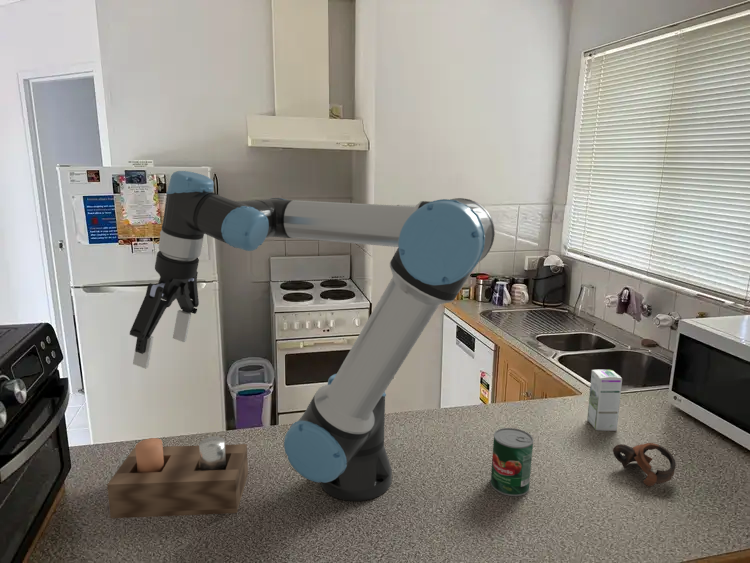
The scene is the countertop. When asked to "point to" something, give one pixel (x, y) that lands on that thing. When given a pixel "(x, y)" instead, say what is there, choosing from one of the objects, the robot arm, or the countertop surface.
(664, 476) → the brown double ring
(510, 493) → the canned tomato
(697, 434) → the countertop surface
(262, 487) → the countertop surface
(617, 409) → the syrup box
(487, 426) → the countertop surface
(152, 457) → the tan rounded piece
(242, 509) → the countertop surface
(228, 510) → the brown wooden block
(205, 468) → the grey rounded piece
